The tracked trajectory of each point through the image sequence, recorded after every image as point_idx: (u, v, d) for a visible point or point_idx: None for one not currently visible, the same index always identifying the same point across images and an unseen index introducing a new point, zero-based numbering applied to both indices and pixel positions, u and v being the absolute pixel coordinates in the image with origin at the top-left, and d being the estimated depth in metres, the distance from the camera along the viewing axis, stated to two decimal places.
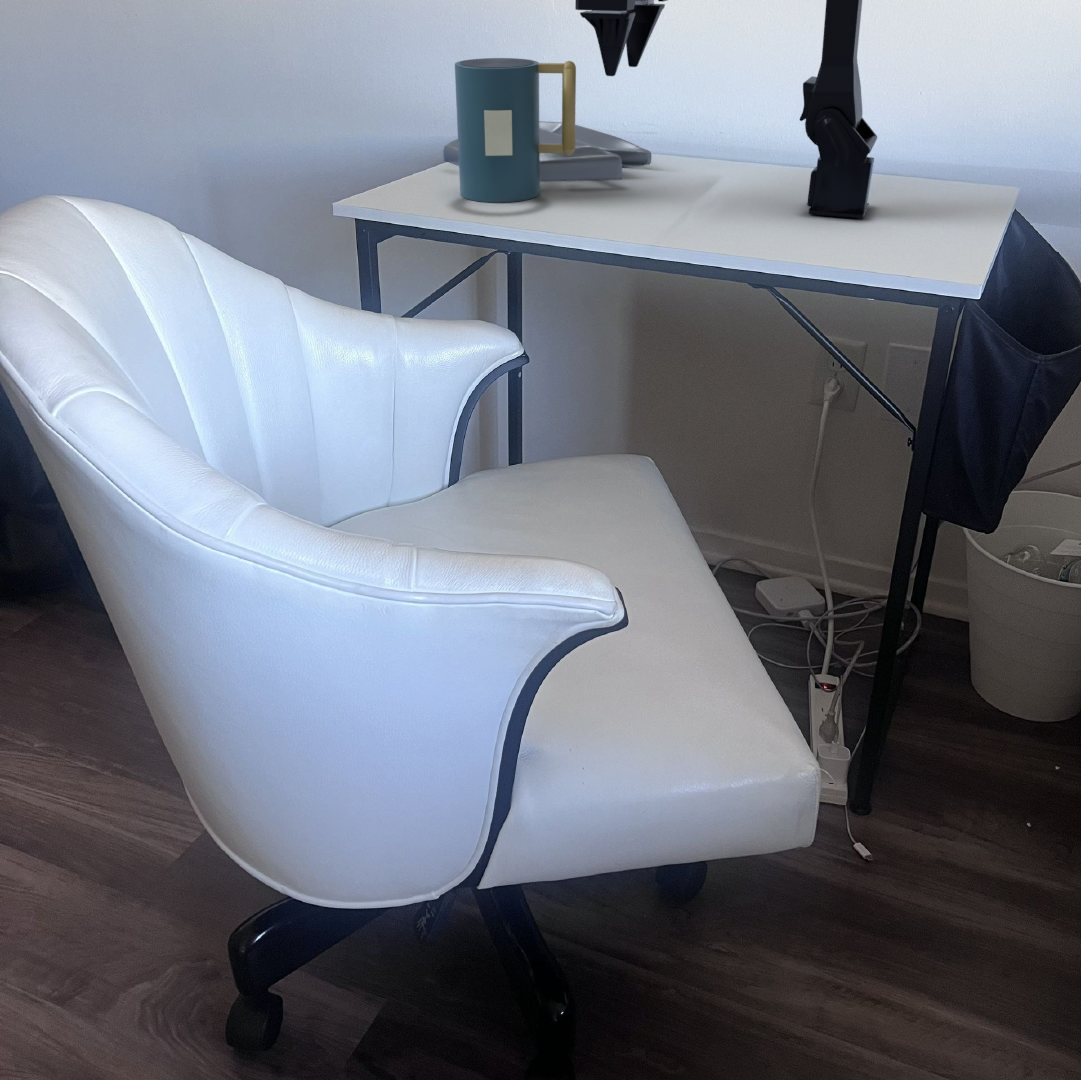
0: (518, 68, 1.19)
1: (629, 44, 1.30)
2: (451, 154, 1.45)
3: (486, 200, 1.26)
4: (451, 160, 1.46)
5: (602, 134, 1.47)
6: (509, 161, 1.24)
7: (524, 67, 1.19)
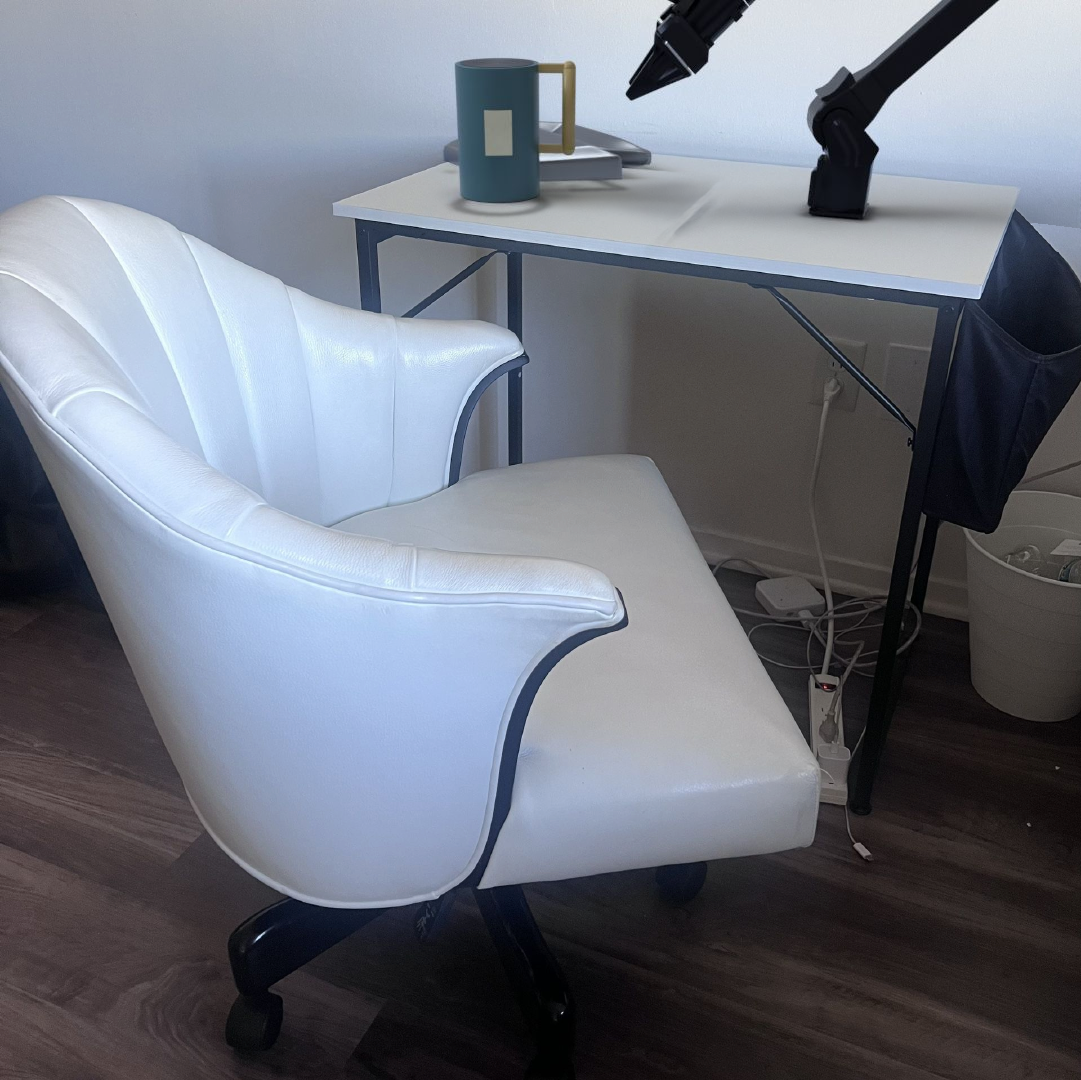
0: (518, 68, 1.19)
1: (643, 66, 1.25)
2: (451, 154, 1.45)
3: (486, 200, 1.26)
4: (451, 160, 1.46)
5: (602, 134, 1.47)
6: (509, 161, 1.24)
7: (524, 67, 1.19)
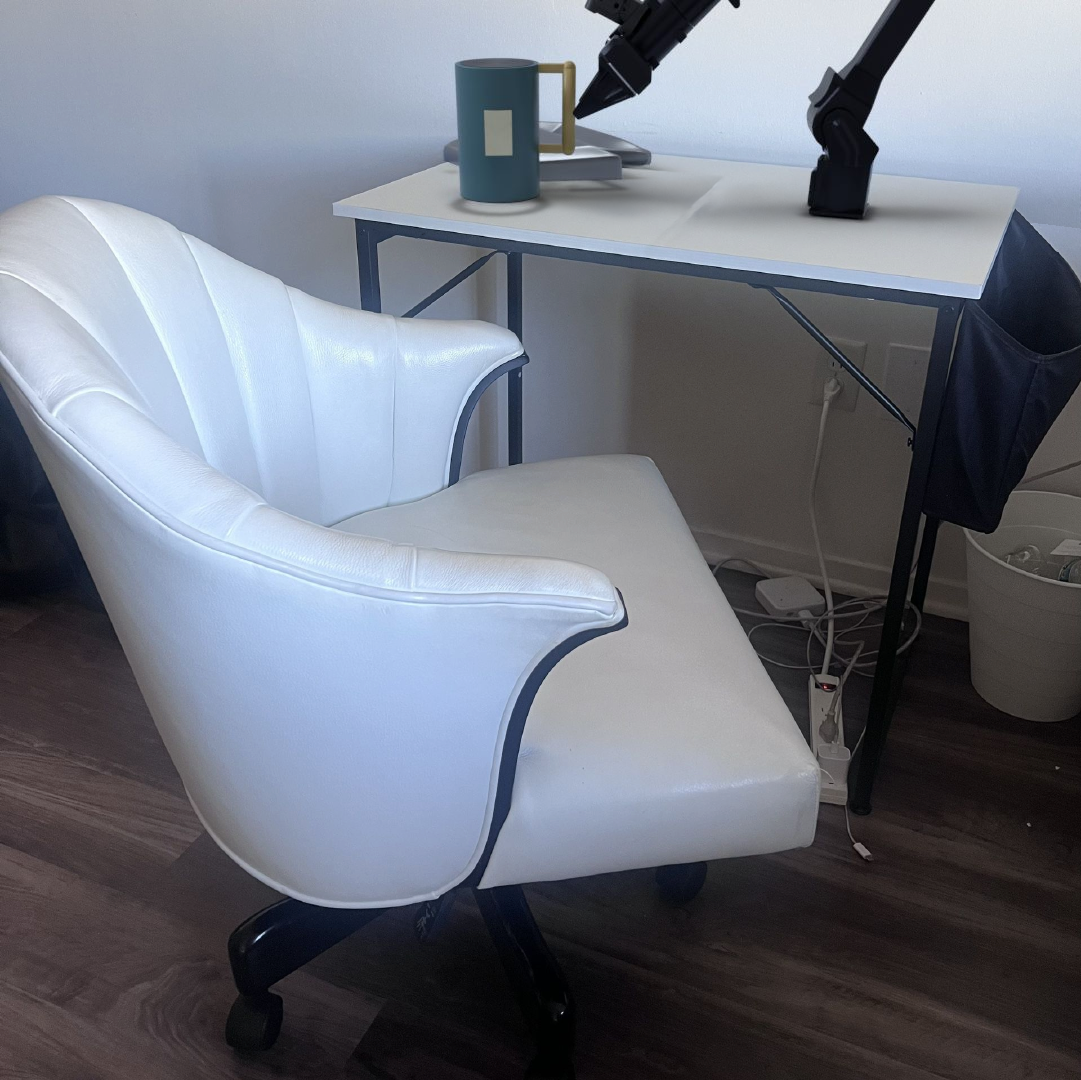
0: (518, 68, 1.19)
1: None
2: (451, 154, 1.45)
3: (486, 200, 1.26)
4: (451, 160, 1.46)
5: (602, 134, 1.47)
6: (509, 161, 1.24)
7: (524, 67, 1.19)
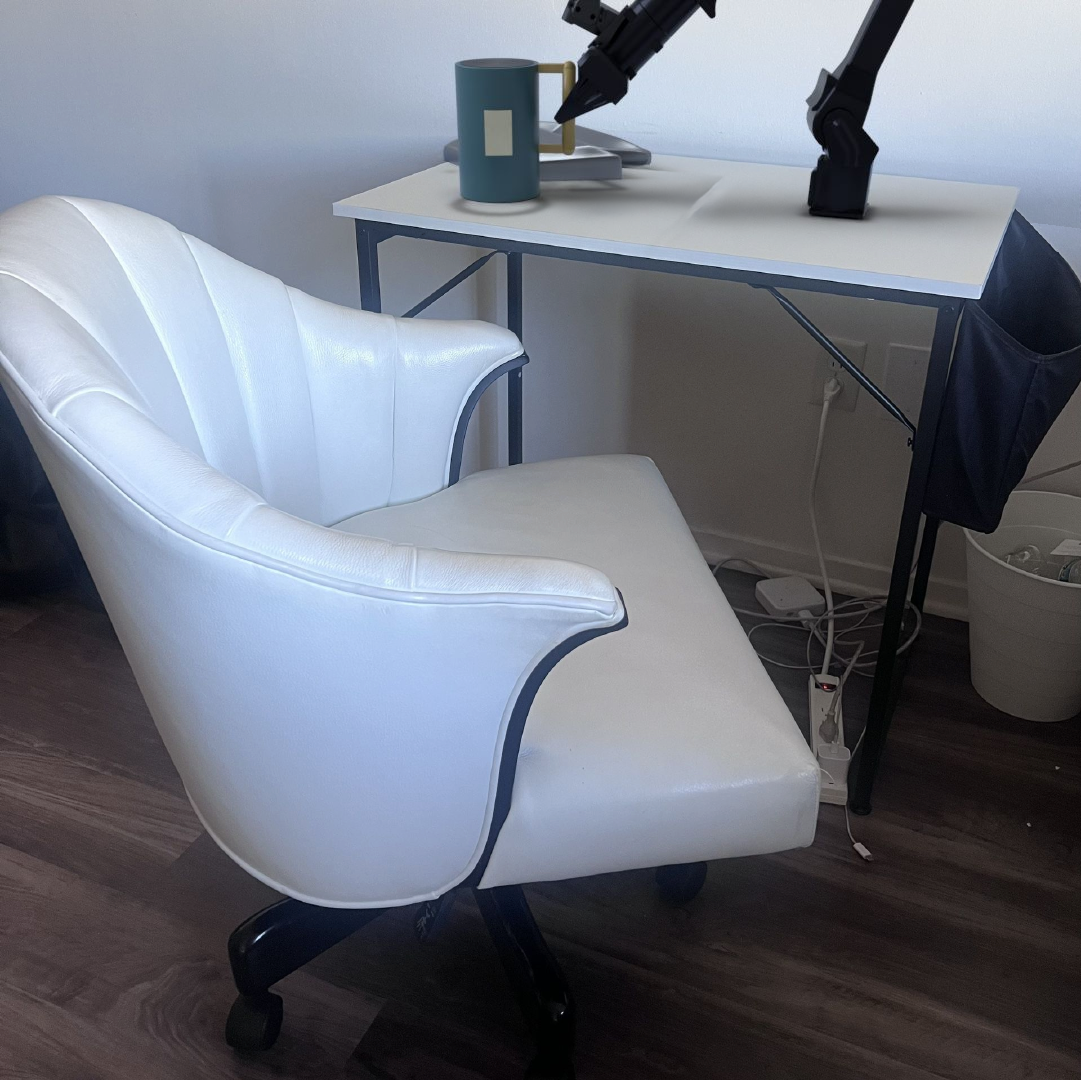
0: (518, 68, 1.19)
1: None
2: (451, 154, 1.45)
3: (486, 200, 1.26)
4: (451, 160, 1.46)
5: (602, 134, 1.47)
6: (509, 161, 1.24)
7: (524, 67, 1.19)
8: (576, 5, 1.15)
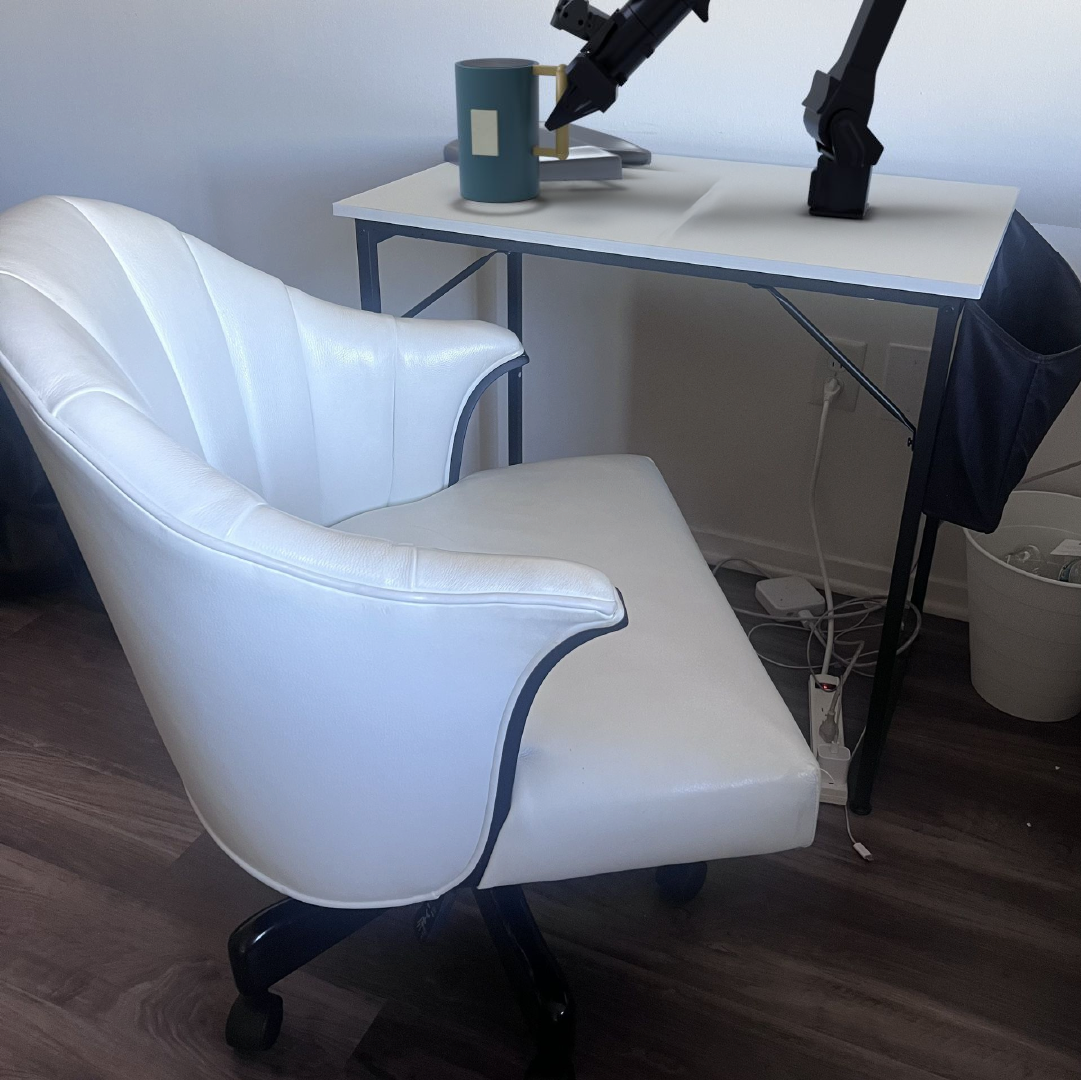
0: (504, 69, 1.18)
1: None
2: (451, 154, 1.45)
3: (474, 199, 1.27)
4: (451, 160, 1.46)
5: (602, 134, 1.47)
6: (495, 162, 1.23)
7: (512, 68, 1.19)
8: (563, 11, 1.12)
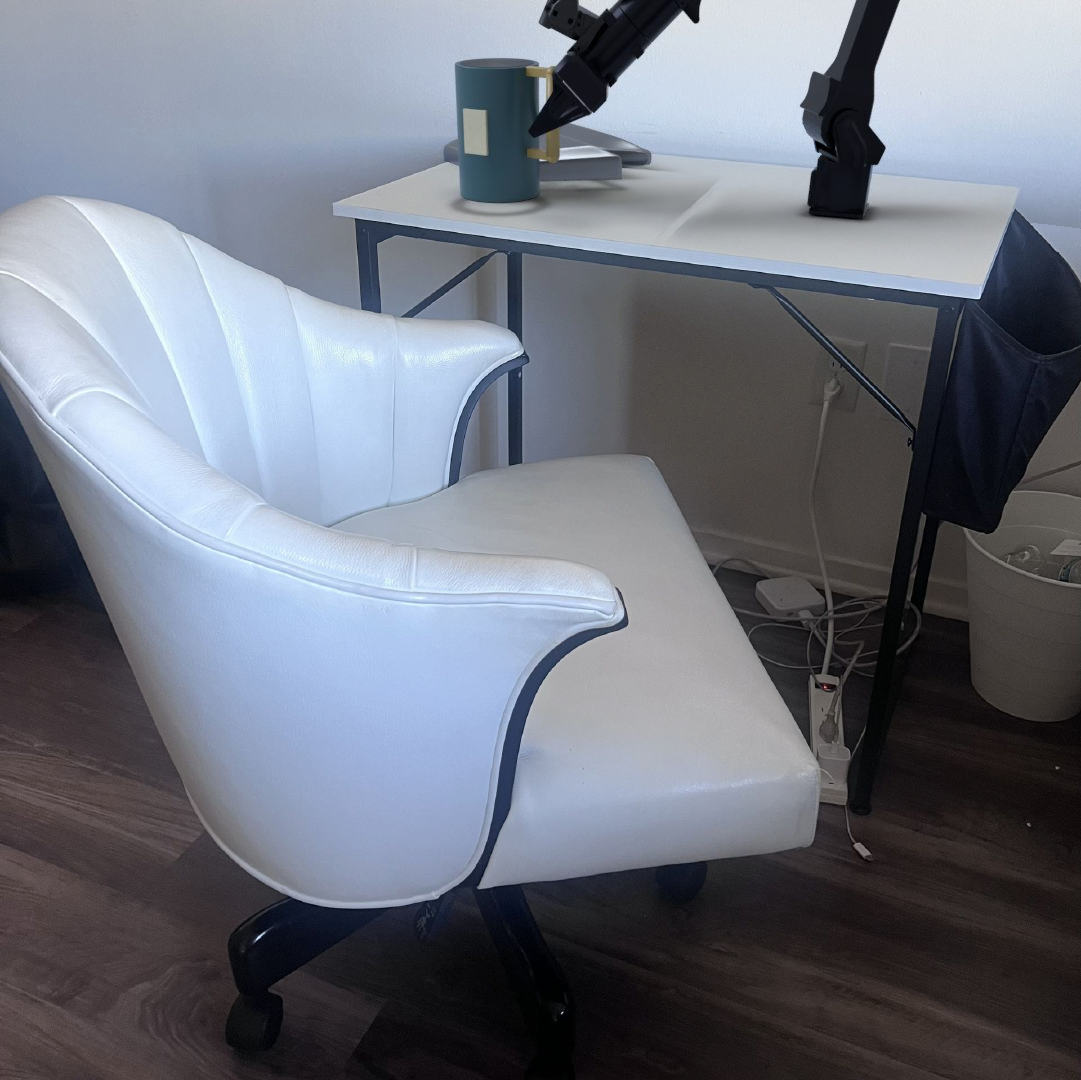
0: (494, 69, 1.18)
1: None
2: (451, 154, 1.45)
3: (467, 197, 1.27)
4: (451, 160, 1.46)
5: (602, 134, 1.47)
6: (485, 161, 1.24)
7: (502, 68, 1.18)
8: (553, 9, 1.10)
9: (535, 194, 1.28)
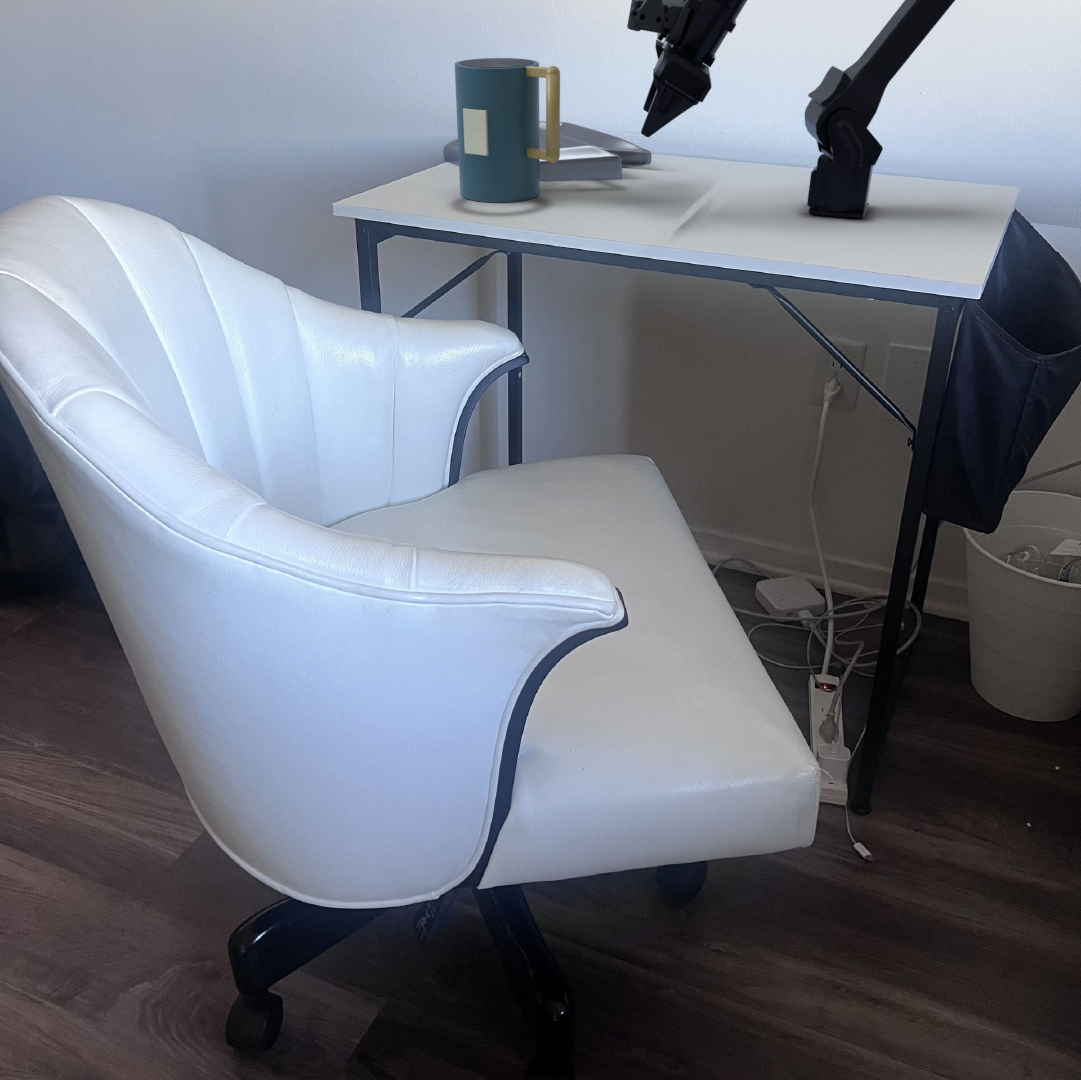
0: (494, 69, 1.18)
1: (653, 90, 1.26)
2: (451, 154, 1.45)
3: (467, 197, 1.27)
4: (451, 160, 1.46)
5: (602, 134, 1.47)
6: (485, 161, 1.24)
7: (502, 68, 1.18)
8: (640, 13, 1.13)
9: (535, 194, 1.28)
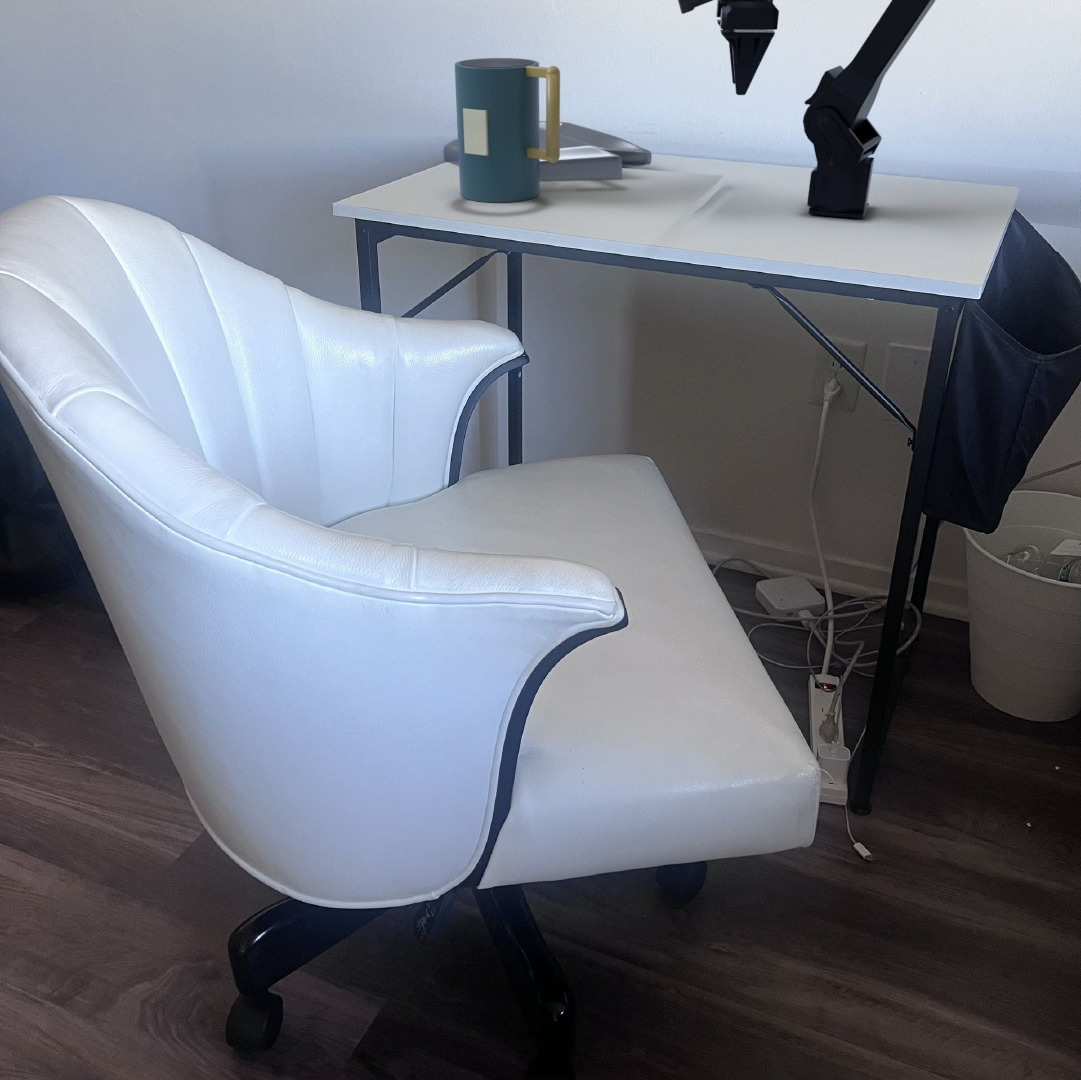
0: (494, 69, 1.18)
1: None
2: (451, 154, 1.45)
3: (467, 197, 1.27)
4: (451, 160, 1.46)
5: (602, 134, 1.47)
6: (485, 161, 1.24)
7: (502, 68, 1.18)
8: None
9: (535, 194, 1.28)
